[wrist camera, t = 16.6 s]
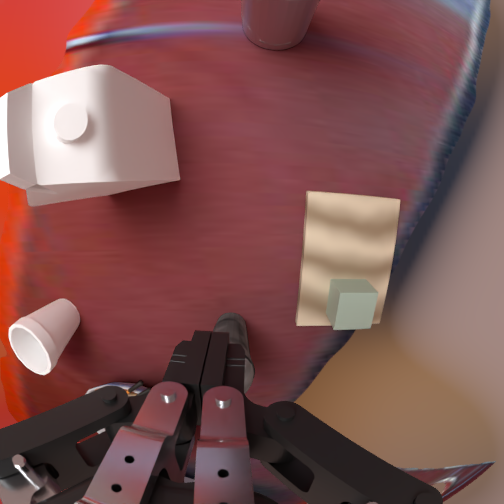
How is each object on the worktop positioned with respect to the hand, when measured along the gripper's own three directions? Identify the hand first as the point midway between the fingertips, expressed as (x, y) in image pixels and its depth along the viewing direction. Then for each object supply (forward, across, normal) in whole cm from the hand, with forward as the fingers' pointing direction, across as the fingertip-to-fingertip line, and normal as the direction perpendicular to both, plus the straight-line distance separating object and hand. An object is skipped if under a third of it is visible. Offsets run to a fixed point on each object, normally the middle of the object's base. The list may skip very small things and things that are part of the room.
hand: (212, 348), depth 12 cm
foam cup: (+29, +32, +17) cm, 47 cm away
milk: (+29, +15, -11) cm, 35 cm away
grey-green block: (+28, -16, +10) cm, 33 cm away
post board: (+29, -16, +5) cm, 33 cm away
